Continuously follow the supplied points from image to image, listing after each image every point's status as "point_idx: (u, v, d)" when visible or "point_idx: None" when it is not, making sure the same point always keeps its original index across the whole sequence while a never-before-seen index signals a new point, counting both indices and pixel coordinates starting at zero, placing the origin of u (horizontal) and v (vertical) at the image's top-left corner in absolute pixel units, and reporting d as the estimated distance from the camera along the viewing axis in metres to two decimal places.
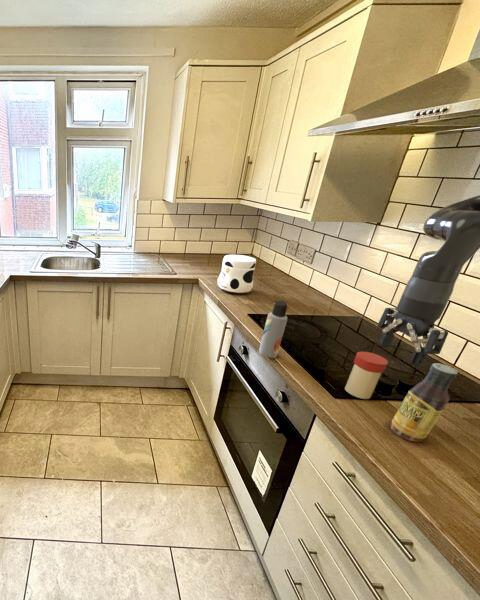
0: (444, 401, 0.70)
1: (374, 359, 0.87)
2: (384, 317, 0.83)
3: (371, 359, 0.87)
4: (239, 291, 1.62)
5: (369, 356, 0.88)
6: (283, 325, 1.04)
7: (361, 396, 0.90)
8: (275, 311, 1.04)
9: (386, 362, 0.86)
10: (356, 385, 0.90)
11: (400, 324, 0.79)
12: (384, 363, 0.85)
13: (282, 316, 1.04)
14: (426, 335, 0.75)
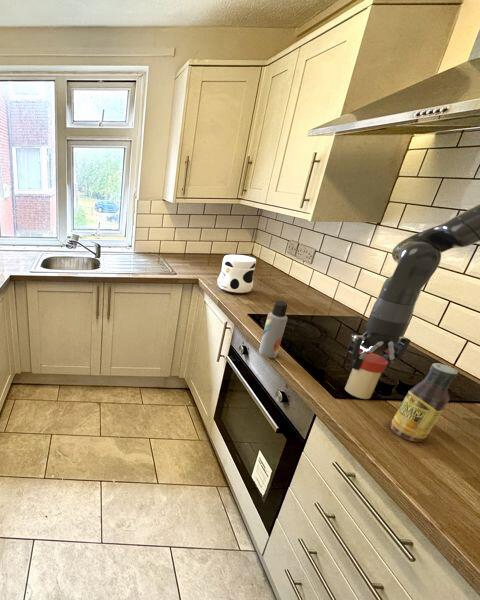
0: (444, 401, 0.70)
1: (374, 359, 0.87)
2: None
3: (371, 359, 0.87)
4: (239, 291, 1.62)
5: (369, 356, 0.88)
6: (283, 325, 1.04)
7: (361, 396, 0.89)
8: (275, 311, 1.04)
9: (386, 362, 0.86)
10: (356, 385, 0.90)
11: None
12: (384, 363, 0.85)
13: (282, 316, 1.04)
14: None
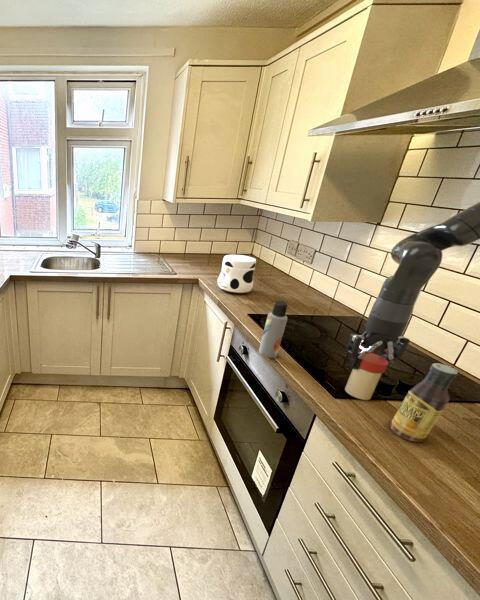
0: (444, 401, 0.70)
1: (374, 357, 0.88)
2: None
3: (378, 358, 0.87)
4: (239, 291, 1.62)
5: (372, 359, 0.87)
6: (283, 325, 1.04)
7: (362, 397, 0.89)
8: (275, 311, 1.04)
9: None
10: (357, 386, 0.89)
11: None
12: (372, 353, 0.89)
13: (282, 316, 1.04)
14: None
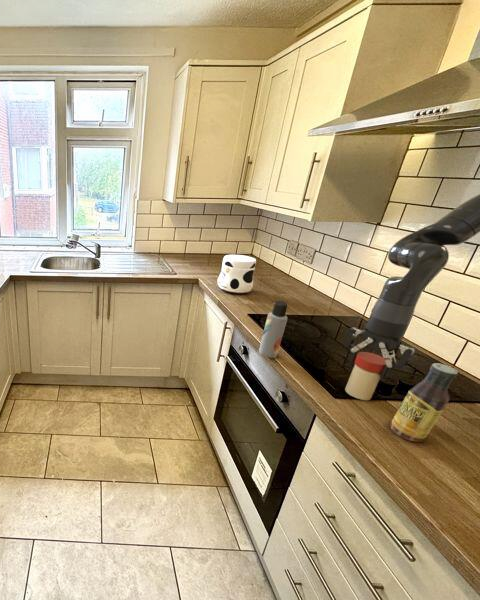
0: (444, 401, 0.70)
1: (368, 357, 0.88)
2: (350, 337, 0.90)
3: (367, 355, 0.88)
4: (239, 291, 1.62)
5: (375, 358, 0.87)
6: (283, 325, 1.04)
7: (363, 397, 0.89)
8: (275, 311, 1.04)
9: (363, 358, 0.87)
10: (357, 387, 0.89)
11: (370, 343, 0.86)
12: (360, 356, 0.88)
13: (282, 316, 1.04)
14: (392, 350, 0.84)
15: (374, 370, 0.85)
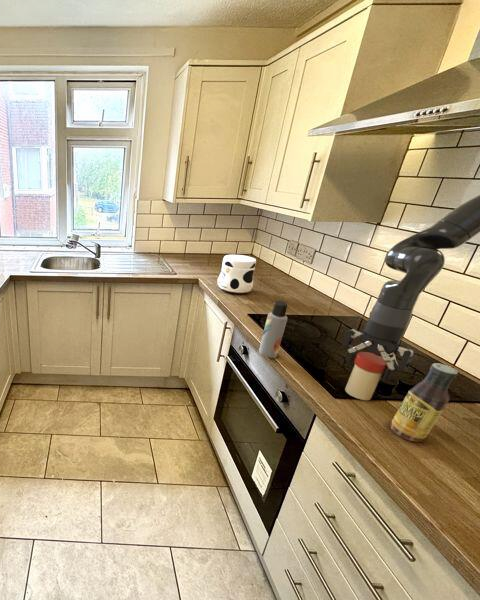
0: (444, 401, 0.70)
1: (368, 357, 0.88)
2: (348, 339, 0.91)
3: (367, 355, 0.88)
4: (239, 291, 1.62)
5: (375, 358, 0.87)
6: (283, 325, 1.04)
7: (363, 397, 0.89)
8: (275, 311, 1.04)
9: (363, 358, 0.87)
10: (357, 387, 0.89)
11: (368, 345, 0.87)
12: (360, 356, 0.88)
13: (282, 316, 1.04)
14: (391, 353, 0.85)
15: (374, 370, 0.85)
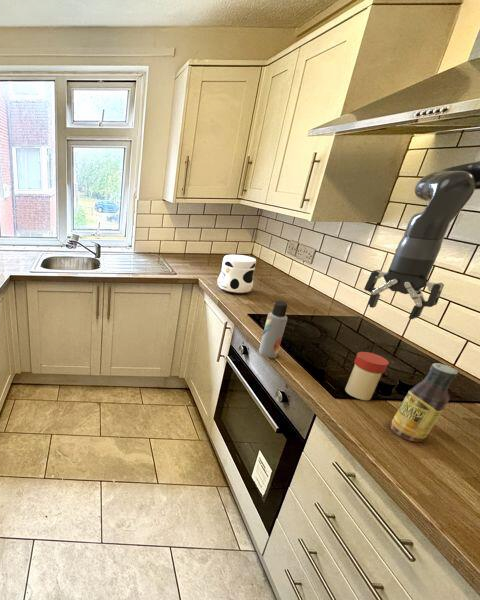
0: (444, 401, 0.70)
1: (368, 357, 0.88)
2: (372, 280, 0.88)
3: (367, 355, 0.88)
4: (239, 291, 1.62)
5: (375, 358, 0.87)
6: (283, 325, 1.04)
7: (363, 397, 0.89)
8: (275, 311, 1.04)
9: (363, 358, 0.87)
10: (357, 387, 0.89)
11: (394, 284, 0.84)
12: (360, 356, 0.88)
13: (282, 316, 1.04)
14: (418, 290, 0.82)
15: (374, 370, 0.85)
